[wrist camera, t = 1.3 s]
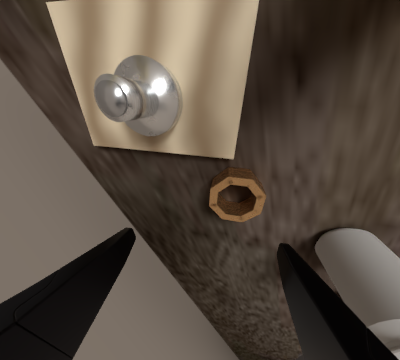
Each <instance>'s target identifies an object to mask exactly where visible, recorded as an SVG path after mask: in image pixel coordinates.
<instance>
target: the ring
mask: <svg viewBox="0 0 400 360" xmlns="http://www.w3.org/2000/svg"><path fill="white" fill-rule="evenodd" d="M229 185H239V186H247V187H248V188H249V189H250V190H251V191H252V194H251V197H250V198H248V199H246V200H244V201H242V202H240V203H236V202H229V201H226V200H225V199H224V198H223V197H222V196H221V195H220V194H219V193H218V192H220V191H221V190H223V189H224V188H226V187H227V186H229ZM265 199H266V194H265V191H264V189H263V186H262V184H261V182H260V181H259V180H258V179H257V177H256V176H255V175H254V174H253V172H252V171H251V170H250V169H243V168H234V167H228V168H226V169H225V170H224V171H222V172H221V173H219V174H218V175H217V176H215V177H214V178H213V181H212V185H211V189H210V201H209V206H210V207H211V208H212V209H213V210H214V211H215V212H216V213H217V214H218V215H219V216H220V217H221V218H222V219H225V220H231V221H238V222H244V221H246V220H248V219H250V218H253V217H255V216H257V215H259V214H261V211H262V208H263V205H264V202H265Z"/></svg>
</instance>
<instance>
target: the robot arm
mask: <svg viewBox="0 0 400 360" xmlns="http://www.w3.org/2000/svg"><path fill="white" fill-rule="evenodd" d="M135 240H136V236H135V234H134V231H133V229H132V228H125V229H123V230H121V231H120V232H118V233H117V234H115V235H113V236H112V237H110V238H108V239H107V240H105V241H104V242H102V243H100V244H99V245H97V246H96V247H94V248H92V249H91V250H89V251H88V252H86V253H84V254H83V255H81V256H80V257H78V258H76V259H75V260H73V261H71V262H70V263H68V264H67V265H65V266H63V267H62V268H60V269H59V270H57V271H55V272H54V273H52V274H51V275H49V276H47V277H46V278H44V279H42V280H41V281H39V282H38V283H36V284H34V285H32V286H31V287H29V288H27V289H25V290H24V291H22V292H20V293H18V294H17V295H15V296H13V297H12V298H10V299H8V300H6V301H4V302H2V303H1V304H0V360H72V359H73V357H74V356H75V354H76V352H77V350H78V348H79V346H80V345H81V343H82V341H83V339H84V337H85V335H86V334H87V332H88V330H89V328H90V326H91V325H92V323H93V321H94V319H95V317H96V316H97V314H98V312H99V310H100V308H101V306H102V305H103V303H104V301H105V299H106V297H107V295H108V294H109V292H110V290H111V288H112V286H113V285H114V283H115V281H116V279H117V277H118V276H119V274H120V272H121V270H122V268H123V266H124V264H125V262H126V260H127V258H128V256H129V254H130V251H131V249H132V247H133V245H134V242H135ZM277 259H278V264H279V270H280V275H281V280H282V285H283V289H284V293H285V296H286V300H287V303H288V306H289V310H290V313H291V316H292V320H293V323H294V326H295V330H296V333H297V336H298V340H299V343H300V346H301V350H302V353H303V356H304V359H305V360H399V359H398V358H397V357H396V356H395V355H394V354H393V353H392V352H391V351H390V350H389V349H388V348H387V347H386V346H385V345H384V344H383V343H382V342H381V341H380V340H379V339H378V337H377V336H376V335H375V334H374V333H373V332H372V331H371V330H370V329H369V328H366V325H365V324H364V323H363V322H362V321H361V320H360V319H359V318H358V317H357V315H356V314H355V313H354V312H353V311H352V310H351V309H350V308H349V307H348V306H347V305H346V304H345V303H344V302H343V301H342V300H341V299H340V298H339V296H338V295H337V294H336V293H335V292H334V291H333V290H332V289H331V288H330V287H329V286H328V285H327V284H326V283H325V282H324V281H323V280H322V279H321V278H320V276H319V275H318V274H317V273H316V272H315V271H314V270H313V269H312V268H311V267H310V266H309V265H308V264H307V263H306V262H305V261H304V260H303V259H302V258H301V256H300V255H299V254H298V253H297V252H296V251H295V250H294V249H293V248H292V247H291V246H290V245H289V244H286V243H280V244H279V247H278V251H277Z"/></svg>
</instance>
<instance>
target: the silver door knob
mask: <svg viewBox="0 0 400 360" xmlns="http://www.w3.org/2000/svg"><path fill="white" fill-rule="evenodd" d="M94 97H95V100H96V103H97V105H98V107H99V109H100V110H101V112H102V113H103V114H104V115H105V116H106V117H107V118H109V119H110V120H112V121H115V122H125V123H126V124H127V126H129V127H130V128H131V129H132V130H134V131H135V132H137V133H139V134H141V135H145V136H157V135H160V134H163V133H165V132H167V131H169V130H171V129H172V128H173V127H174V126H175V125H176V124H177V122H178V121H179V119H180V116H181V113H182V108H183V98H182V92H181V89H180V86H179V83H178V81H177V79H176V78H175V76H174V75H173V73H172V72H171V71H170V70H169V69H168V68H167V67H165V66H164V65H162V64H161V63H159V62H157V61H155V60H154V59H152V58H150V57H147V56H143V55H133V56H130V57H127V58H126V59H124V60H123V61H122V62H121V63H120V64H119V65H118V66H117V68H116V70H115V72H114V75H113V74H102V75H100V76H99V77H98V78H97V80H96V81H95V84H94Z"/></svg>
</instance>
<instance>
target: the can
mask: <svg viewBox="0 0 400 360" xmlns="http://www.w3.org/2000/svg"><path fill="white" fill-rule="evenodd" d="M315 251H316V254H317V256H318V257H319V259H320V261H321V263H322V264H323V266H324V268H325V270H326V271H327V273H328V275H329V277H330V278H331V280H332V282H333V284H334V285H335V287H336V289H337V291H338V293H339V294H340V296H341V298H342V300H343V301H344V303H345V304H346V305H347V306H348V307H349V308H350V309H351V310H352V311H353V312H354V313H355V314H356V315H357V317H358V318H359V319H360V320H361V321H362V322H363V323H364V324H365V325H366V328H369V329H370V330H371V331H372V332H373V333H374V334H375V335H376V336H377V337H378V339H379V340H380V341H381V342H382V343H383V344H384V345H385V346H386V347H387V348H388V349H389V350H390V351H391V352H392V353H393V354H394V355H395V356H396V357H397V358H398V359H399V360H400V258H398V257H397V256H396V255H395V254H394V253H393V252H392V251H391V250H390V249H389V248H388V247H387V246H385V245H384V244H383V243H382V242H381V241H380V240H379V239H378V238H377V237H376V236H375V235H373V234H371V233H370V232H368V231H364V230H360V229H352V228H340V229H334V230H331V231H328V232H327V233H325V234H323V235H322V236H321V237H320V238H319V240H318V241H317V243H316V245H315Z"/></svg>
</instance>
